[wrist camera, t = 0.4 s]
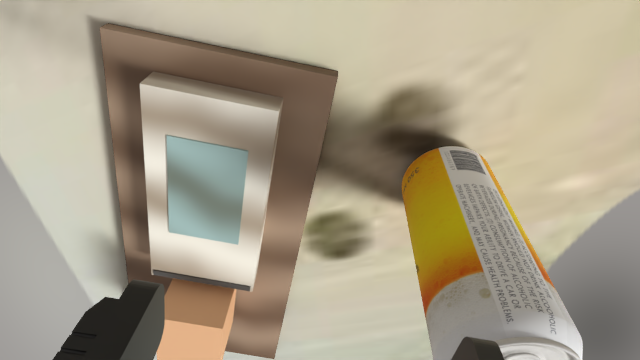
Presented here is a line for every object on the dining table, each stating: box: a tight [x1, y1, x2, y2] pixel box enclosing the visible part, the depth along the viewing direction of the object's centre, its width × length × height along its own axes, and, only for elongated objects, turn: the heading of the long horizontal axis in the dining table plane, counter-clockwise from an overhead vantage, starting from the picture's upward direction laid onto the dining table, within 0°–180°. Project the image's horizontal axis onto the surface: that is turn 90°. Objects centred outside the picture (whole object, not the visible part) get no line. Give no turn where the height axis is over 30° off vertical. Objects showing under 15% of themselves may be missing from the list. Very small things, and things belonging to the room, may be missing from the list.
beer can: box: [402, 146, 583, 360], centre depth 23 cm, size 6×6×15 cm
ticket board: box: [100, 23, 338, 359], centre depth 32 cm, size 30×14×3 cm, turn 169°
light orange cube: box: [157, 278, 236, 360], centre depth 34 cm, size 6×5×5 cm
